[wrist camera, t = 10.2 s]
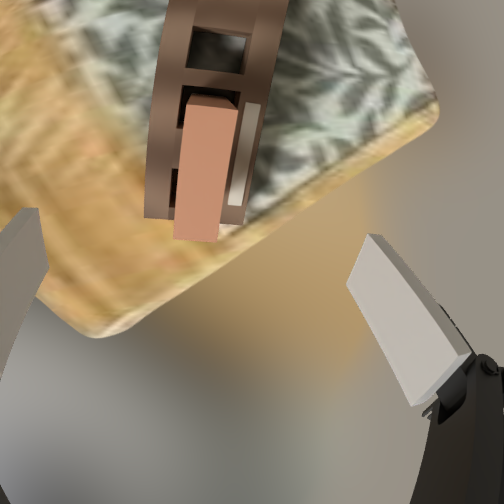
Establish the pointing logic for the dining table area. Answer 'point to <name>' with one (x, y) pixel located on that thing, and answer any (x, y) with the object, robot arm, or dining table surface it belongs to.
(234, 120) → the pink u-shaped block
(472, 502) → the robot arm
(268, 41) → the brown compartment rack
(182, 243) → the dining table surface
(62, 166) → the dining table surface
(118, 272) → the dining table surface
